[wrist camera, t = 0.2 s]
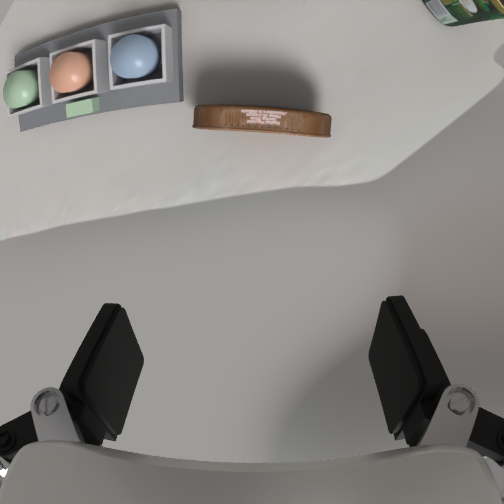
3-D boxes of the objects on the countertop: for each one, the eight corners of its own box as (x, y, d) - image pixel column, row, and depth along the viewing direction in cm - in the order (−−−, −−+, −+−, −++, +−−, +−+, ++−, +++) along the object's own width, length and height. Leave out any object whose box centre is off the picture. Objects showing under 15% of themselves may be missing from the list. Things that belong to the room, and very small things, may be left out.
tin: (200, 124, 37) (184, 135, 29) (200, 100, 35) (185, 104, 28) (322, 133, 37) (337, 146, 29) (325, 109, 35) (341, 115, 28)
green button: (16, 75, 28) (2, 77, 26) (41, 65, 28) (27, 66, 26) (18, 108, 31) (4, 112, 28) (43, 100, 31) (30, 103, 28)
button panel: (28, 129, 36) (8, 136, 31) (23, 55, 30) (1, 56, 25) (183, 101, 35) (172, 103, 31) (181, 11, 29) (170, 2, 25)
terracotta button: (61, 58, 28) (48, 58, 25) (94, 48, 28) (82, 47, 25) (63, 94, 31) (50, 96, 28) (96, 86, 30) (84, 87, 28)
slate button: (120, 41, 28) (109, 39, 25) (160, 34, 28) (152, 30, 25) (121, 81, 30) (110, 81, 28) (162, 74, 30) (153, 74, 28)
